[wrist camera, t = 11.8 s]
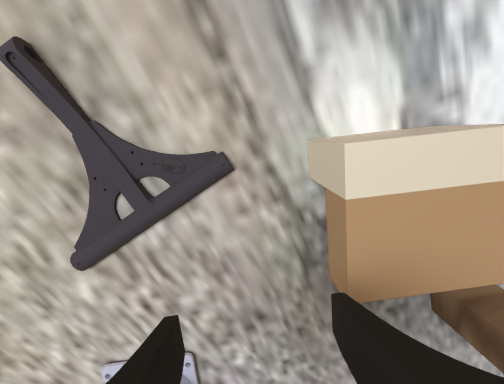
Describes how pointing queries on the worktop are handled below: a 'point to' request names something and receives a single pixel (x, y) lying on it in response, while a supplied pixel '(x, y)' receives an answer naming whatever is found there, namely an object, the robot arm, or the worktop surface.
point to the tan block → (413, 209)
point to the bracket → (113, 165)
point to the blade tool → (475, 318)
